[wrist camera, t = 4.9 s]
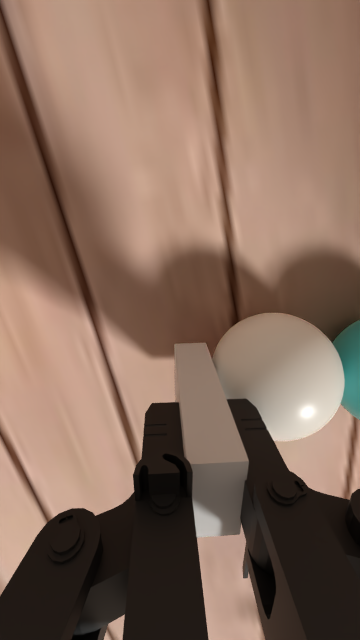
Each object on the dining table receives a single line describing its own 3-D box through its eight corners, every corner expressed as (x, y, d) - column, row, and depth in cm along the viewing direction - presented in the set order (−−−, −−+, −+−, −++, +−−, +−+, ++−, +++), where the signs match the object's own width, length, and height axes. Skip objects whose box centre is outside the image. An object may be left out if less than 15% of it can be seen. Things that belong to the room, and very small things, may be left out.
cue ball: (188, 308, 12) (276, 293, 14) (188, 408, 14) (266, 380, 16) (285, 360, 7) (390, 324, 10) (265, 498, 9) (358, 440, 12)
